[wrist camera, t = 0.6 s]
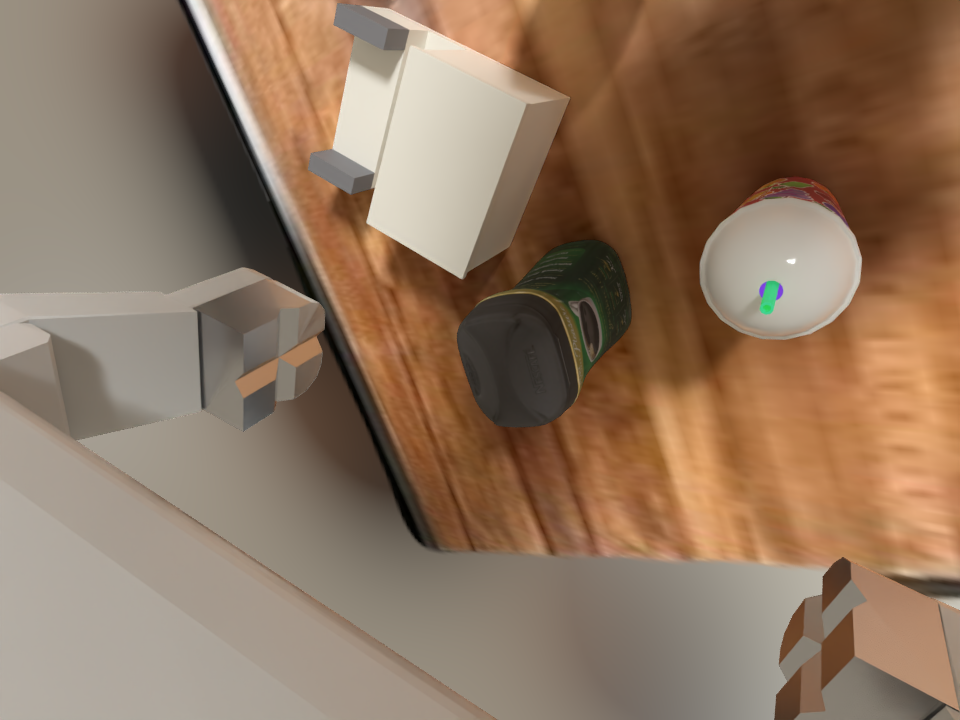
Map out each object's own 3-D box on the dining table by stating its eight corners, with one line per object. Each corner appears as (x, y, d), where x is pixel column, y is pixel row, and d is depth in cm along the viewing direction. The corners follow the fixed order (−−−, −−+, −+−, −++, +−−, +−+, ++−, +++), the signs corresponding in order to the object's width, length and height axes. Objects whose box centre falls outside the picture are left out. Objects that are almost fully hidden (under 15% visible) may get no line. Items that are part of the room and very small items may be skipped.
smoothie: (729, 275, 50) (682, 381, 34) (728, 169, 46) (675, 229, 31) (850, 272, 45) (861, 390, 30) (857, 155, 42) (873, 216, 27)
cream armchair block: (389, 6, 54) (315, -2, 46) (573, 96, 49) (526, 103, 42) (354, 161, 62) (287, 176, 54) (510, 249, 58) (461, 279, 50)
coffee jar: (536, 247, 56) (431, 316, 42) (618, 230, 52) (535, 300, 37) (561, 344, 59) (472, 441, 44) (641, 335, 55) (573, 438, 40)
